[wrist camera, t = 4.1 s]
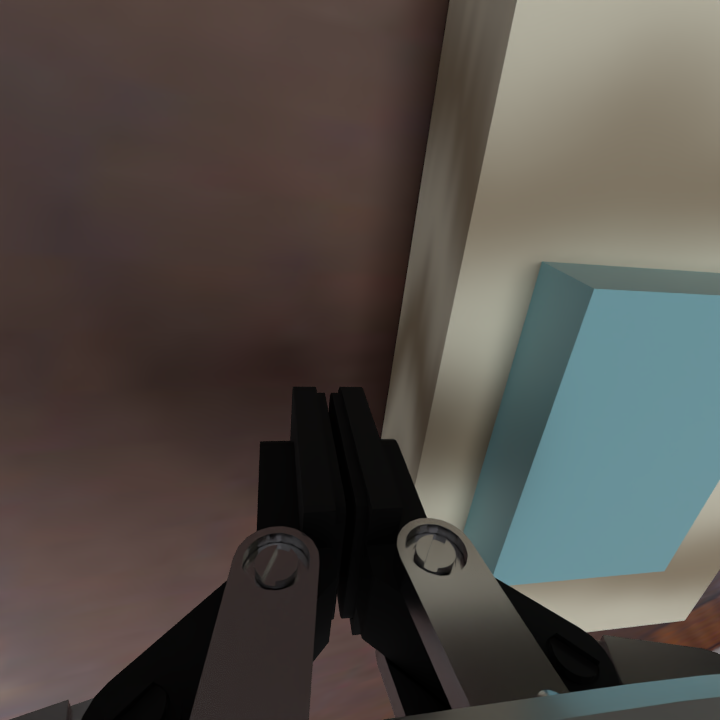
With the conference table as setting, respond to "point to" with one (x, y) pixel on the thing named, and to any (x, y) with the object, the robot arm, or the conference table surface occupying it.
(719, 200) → the beige flat block
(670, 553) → the blue rectangular block
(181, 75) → the conference table surface
